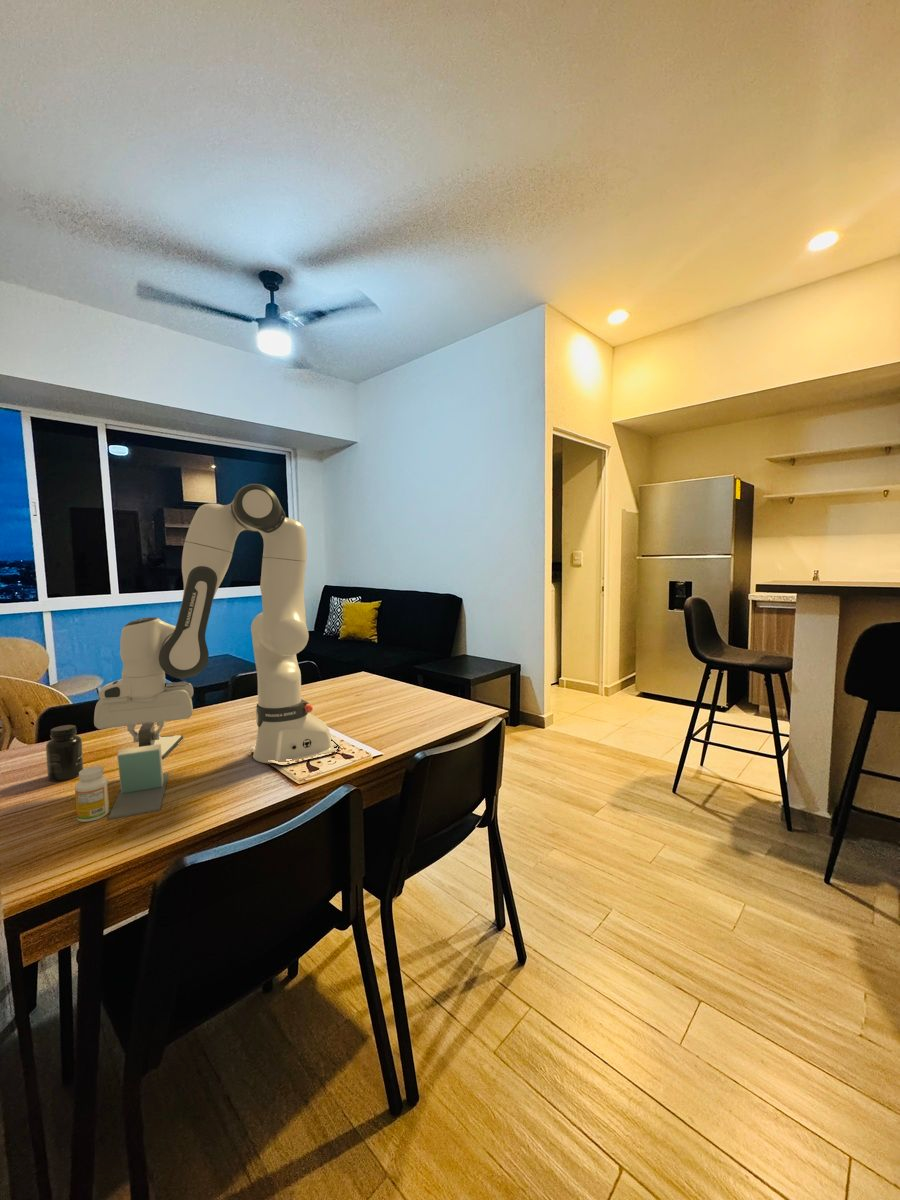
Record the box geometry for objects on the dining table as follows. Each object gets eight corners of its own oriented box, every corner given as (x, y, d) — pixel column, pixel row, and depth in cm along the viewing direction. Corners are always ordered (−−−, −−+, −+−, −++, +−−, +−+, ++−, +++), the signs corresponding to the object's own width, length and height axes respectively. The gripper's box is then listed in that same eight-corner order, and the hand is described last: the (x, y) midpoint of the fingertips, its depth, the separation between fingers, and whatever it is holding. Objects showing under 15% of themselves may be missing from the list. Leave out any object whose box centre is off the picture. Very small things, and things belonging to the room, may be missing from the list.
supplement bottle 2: (88, 809, 102) (86, 764, 101) (115, 808, 102) (112, 764, 102) (70, 823, 97) (67, 776, 96) (98, 822, 97) (96, 775, 96)
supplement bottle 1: (88, 774, 118) (85, 726, 117) (53, 785, 113) (50, 735, 112) (77, 767, 122) (74, 721, 121) (43, 777, 117) (40, 729, 116)
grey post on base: (136, 743, 120) (135, 724, 119) (162, 740, 122) (161, 721, 122) (127, 762, 109) (126, 741, 108) (155, 758, 111) (154, 737, 110)
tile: (163, 781, 113) (160, 744, 110) (162, 787, 111) (159, 749, 108) (122, 787, 110) (118, 749, 107) (121, 794, 108) (117, 755, 105)
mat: (168, 773, 119) (168, 772, 119) (159, 810, 102) (159, 808, 102) (125, 780, 115) (125, 779, 115) (108, 819, 98) (108, 817, 98)
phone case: (163, 762, 127) (185, 739, 143) (162, 757, 127) (184, 734, 143) (126, 765, 125) (152, 741, 141) (125, 759, 125) (152, 736, 141)
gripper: (193, 677, 124) (195, 730, 125) (97, 686, 115) (100, 742, 116) (192, 683, 118) (194, 738, 119) (90, 692, 110) (93, 751, 111)
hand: (147, 740), depth 118 cm, fingers closed on grey post on base, 2 cm apart
